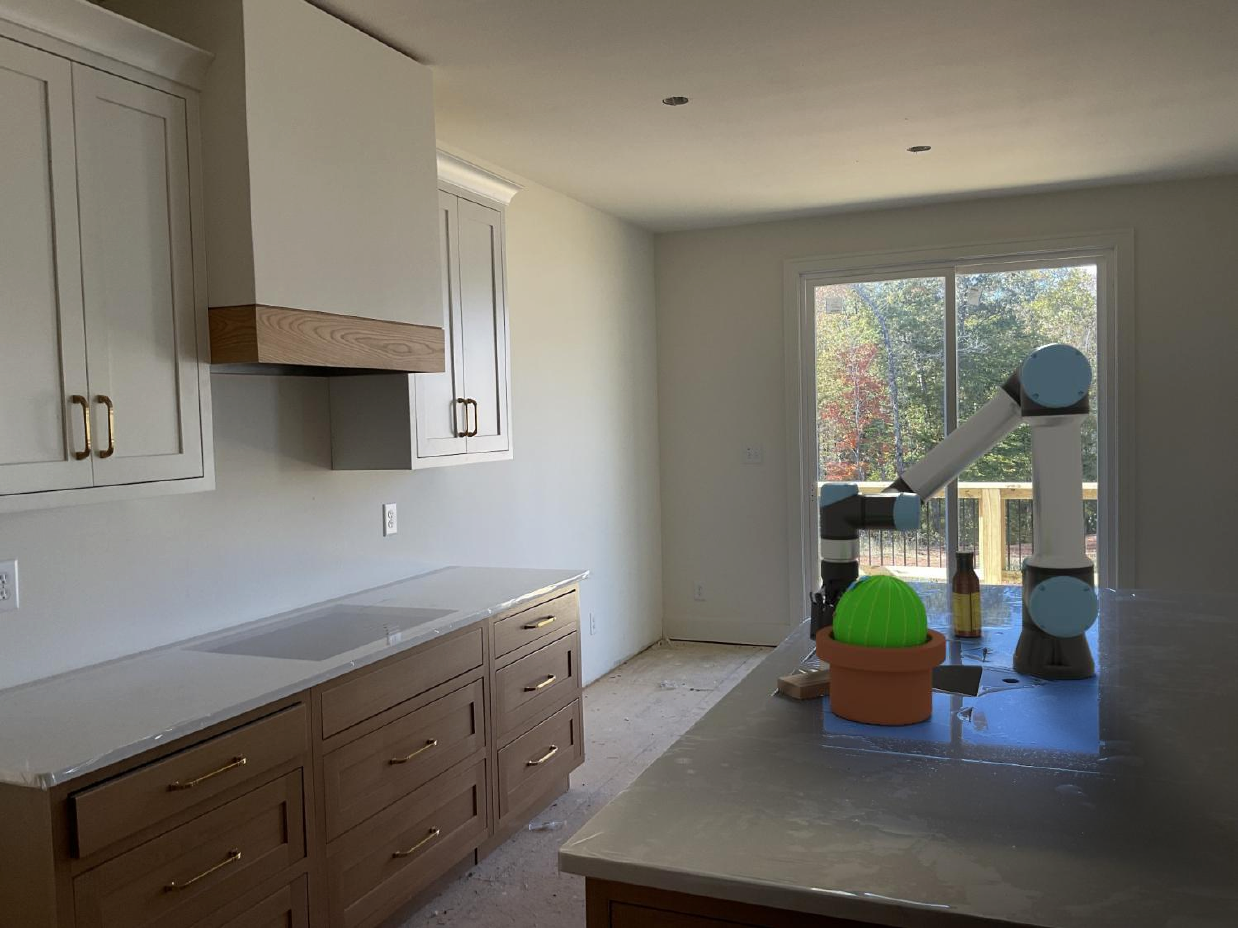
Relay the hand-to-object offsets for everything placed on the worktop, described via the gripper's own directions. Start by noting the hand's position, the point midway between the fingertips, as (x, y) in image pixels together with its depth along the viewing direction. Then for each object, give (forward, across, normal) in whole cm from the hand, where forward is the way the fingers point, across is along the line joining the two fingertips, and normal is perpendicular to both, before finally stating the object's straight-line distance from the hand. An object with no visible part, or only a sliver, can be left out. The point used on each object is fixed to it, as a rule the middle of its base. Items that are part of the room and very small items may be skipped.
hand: (840, 672), depth 196 cm
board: (0, +7, +7) cm, 10 cm away
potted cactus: (+1, +10, +23) cm, 25 cm away
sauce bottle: (0, -47, -11) cm, 48 cm away
